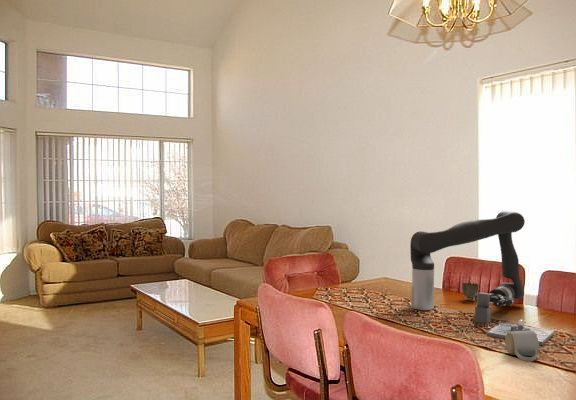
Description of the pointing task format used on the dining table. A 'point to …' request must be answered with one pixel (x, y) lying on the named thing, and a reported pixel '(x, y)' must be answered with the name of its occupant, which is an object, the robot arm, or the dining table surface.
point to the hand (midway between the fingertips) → (488, 302)
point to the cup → (470, 290)
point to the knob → (483, 308)
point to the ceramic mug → (522, 344)
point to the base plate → (504, 328)
